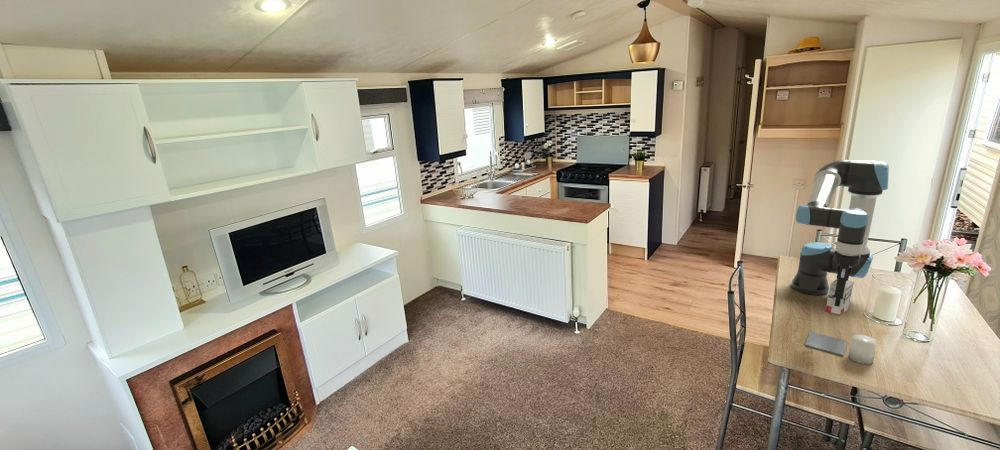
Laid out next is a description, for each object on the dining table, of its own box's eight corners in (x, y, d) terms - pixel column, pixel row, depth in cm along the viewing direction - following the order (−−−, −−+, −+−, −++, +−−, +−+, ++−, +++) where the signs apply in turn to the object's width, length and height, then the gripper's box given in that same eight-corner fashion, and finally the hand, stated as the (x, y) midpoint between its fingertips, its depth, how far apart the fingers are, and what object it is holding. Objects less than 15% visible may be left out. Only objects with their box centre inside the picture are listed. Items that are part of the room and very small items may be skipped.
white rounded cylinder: (849, 351, 166) (852, 332, 164) (873, 357, 162) (877, 338, 160) (848, 360, 161) (851, 340, 159) (872, 366, 157) (876, 346, 154)
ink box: (839, 316, 163) (845, 287, 159) (824, 311, 166) (829, 283, 163) (849, 309, 167) (854, 280, 164) (833, 304, 171) (839, 276, 168)
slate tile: (810, 332, 180) (810, 331, 179) (846, 342, 172) (847, 341, 172) (804, 345, 171) (804, 344, 171) (843, 356, 163) (843, 355, 163)
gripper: (838, 242, 170) (828, 294, 177) (831, 259, 155) (820, 316, 161) (862, 246, 165) (852, 299, 172) (858, 264, 150) (846, 322, 156)
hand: (837, 307), depth 167 cm, fingers closed on ink box, 9 cm apart
